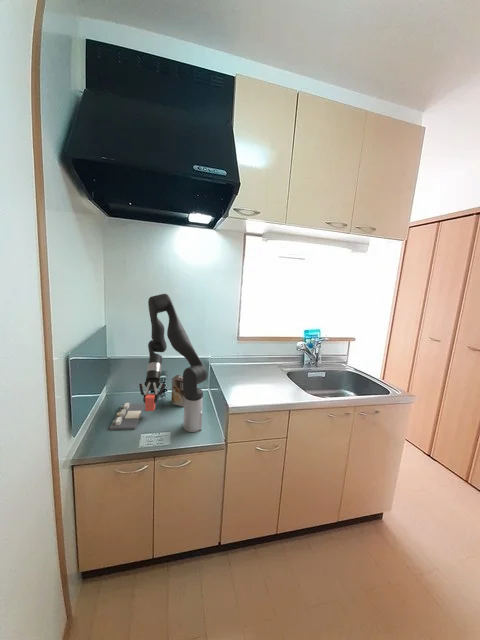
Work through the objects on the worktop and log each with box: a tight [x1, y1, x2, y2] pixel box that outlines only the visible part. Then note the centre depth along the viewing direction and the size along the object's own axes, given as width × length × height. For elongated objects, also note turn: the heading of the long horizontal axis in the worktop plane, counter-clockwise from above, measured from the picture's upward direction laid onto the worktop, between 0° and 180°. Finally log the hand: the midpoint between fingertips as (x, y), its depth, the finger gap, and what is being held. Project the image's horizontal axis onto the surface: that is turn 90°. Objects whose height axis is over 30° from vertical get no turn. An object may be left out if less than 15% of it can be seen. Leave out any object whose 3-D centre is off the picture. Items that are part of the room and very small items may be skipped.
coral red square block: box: [144, 393, 156, 412], centre depth 140 cm, size 4×4×8 cm
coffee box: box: [171, 374, 184, 408], centre depth 156 cm, size 9×6×16 cm
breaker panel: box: [109, 402, 145, 431], centre depth 140 cm, size 12×22×3 cm, turn 8°
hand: (150, 402), depth 139 cm, fingers closed on coral red square block, 4 cm apart
